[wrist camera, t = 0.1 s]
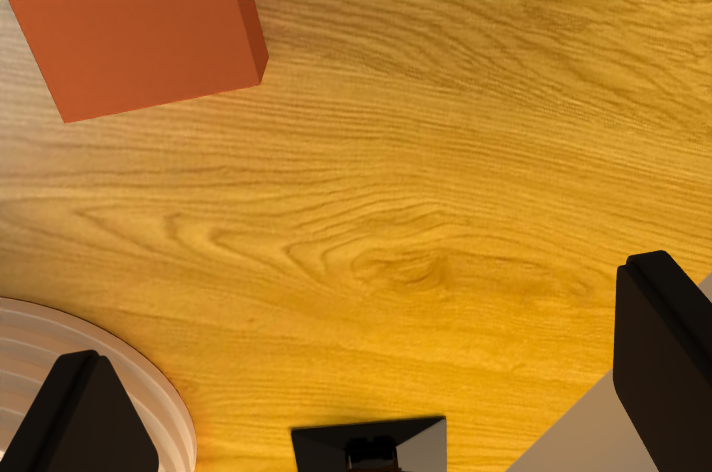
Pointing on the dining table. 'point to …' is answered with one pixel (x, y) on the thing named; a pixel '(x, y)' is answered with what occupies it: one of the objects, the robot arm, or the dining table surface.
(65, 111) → the orange block
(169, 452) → the plate stack
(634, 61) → the dining table surface
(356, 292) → the dining table surface
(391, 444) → the black mount
